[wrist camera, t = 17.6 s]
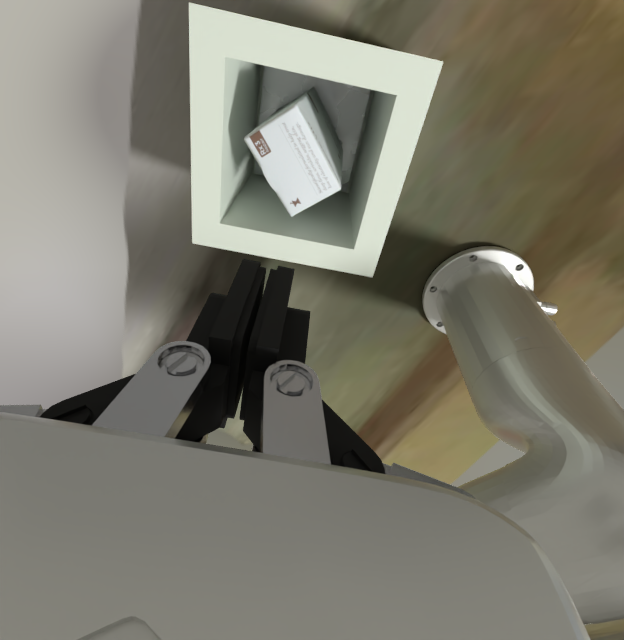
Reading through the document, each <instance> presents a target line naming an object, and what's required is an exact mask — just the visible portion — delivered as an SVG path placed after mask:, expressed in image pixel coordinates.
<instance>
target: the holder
mask: <svg viewBox="0 0 624 640" xmlns="http://www.w3.org/2000/svg"><path fill="white" fill-rule="evenodd" d="M189 58H190V129H191V199H192V243H193V244H199V245H204V246H209V247H214V248H220V249H225V250H230V251H236V252H241V253H246V254H251V255H257V256H262V257H267V258H273V259H278V260H283V261H288V262H294V263H299V264H304V265H309V266H315V267H320V268H325V269H331V270H336V271H341V272H346V273H352V274H357V275H362V276H368V277H373V275H374V272H375V269H376V266H377V263H378V260H379V257H380V253H381V250H382V247H383V244H384V241H385V238H386V235H387V232H388V229H389V226H390V223H391V220H392V217H393V214H394V211H395V208H396V205H397V202H398V199H399V196H400V193H401V190H402V186H403V183H404V180H405V177H406V174H407V171H408V168H409V165H410V162H411V159H412V156H413V153H414V150H415V147H416V144H417V141H418V138H419V135H420V132H421V129H422V126H423V123H424V119H425V116H426V113H427V110H428V107H429V104H430V101H431V98H432V95H433V92H434V89H435V86H436V83H437V80H438V77H439V74H440V71H441V68H442V65H443V61H438V60H434V59H430V58H425V57H421V56H417V55H413V54H408V53H404V52H400V51H395V50H391V49H387V48H383V47H378V46H374V45H370V44H365V43H361V42H357V41H353V40H348V39H344V38H340V37H335V36H331V35H327V34H323V33H318V32H314V31H310V30H305V29H301V28H297V27H293V26H288V25H284V24H280V23H275V22H271V21H267V20H263V19H258V18H254V17H250V16H245V15H241V14H237V13H233V12H228V11H224V10H220V9H215V8H211V7H207V6H203V5H198V4H194V3H190V2H189ZM264 66H269V67H273V68H278V69H282V70H286V71H291V72H295V73H300V74H304V75H309V76H313V77H318V78H322V79H326V80H331V81H335V82H340V83H344V84H349V85H353V86H358V87H362V88H367V89H371V91H370V95H369V99H368V104H367V108H366V112H365V116H364V120H363V124H362V129H361V133H360V137H359V141H358V145H357V149H356V154H355V158H354V162H353V166H352V170H351V175H350V179H349V183H348V187H347V191H341V190H339V191H338V192H336V193H334V194H332V195H330V196H328V197H327V198H325V199H323V200H321V201H319V202H317V203H316V204H314V205H312V206H310V207H308V208H307V209H305V210H303V211H301V212H299V213H297V214H296V215H294V216H293V217H291V216H290V215H289V213H288V212H287V210H286V208H285V207H284V205H283V204H282V202H281V200H280V199H279V197H278V195H277V194H276V192H275V191H274V190H273V189H272V187H271V186H270V185H269V183H268V181H267V180H266V178H265V176H264V175H263V174H258V173H255V164H256V159H255V157H254V156H253V154H252V152H251V151H250V149H249V147H248V146H247V144H246V142H245V140H244V138H245V136H246V135H248V134H249V133H251V132H252V131H253V130H254V129H255V128H256V127H258V126H259V118H260V107H261V95H262V83H263V72H264Z"/></svg>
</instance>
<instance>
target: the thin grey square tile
mask: <svg viewBox="0 0 624 640" xmlns="http://www.w3.org/2000/svg"><path fill="white" fill-rule="evenodd" d="M312 87H314V89H315V90H316V92H317V94H318V96H319V98H320V100H321V102H322V104H323V106H324V108H325V110H326V112H327V114H328V116H329V118H330V120H331V122H332V124H333V126H334V129H335V131H336V133H337V136H338V138H339V141H340V143H341V146H342V149H343V162H342V180H341V191H347V187H348V183H349V179H350V175H351V170H352V166H353V162H354V158H355V154H356V149H357V145H358V141H359V137H360V133H361V129H362V124H363V120H364V116H365V112H366V108H367V104H368V99H369V95H370V91H371V89H367V88H362V87H358V86H353V85H349V84H344V83H340V82H335V81H331V80H326V79H322V78H318V77H313V76H309V75H304V74H300V73H295V72H291V71H286V70H282V69H278V68H273V67H269V66H264V72H263V83H262V95H261V107H260V118H259V125H260V124H261V123H262V122H264V121H265V120H266V119H267V118H268V117H270V116H271V115H272V114H273V113H274V112H275V111H277V110H278V109H280V108H282V107H283V106H285V105H286V104H288V103H290V102H291V101H293V100H294V99H296V98H297V97H299V96H301V95H302V94H303V93H305V92H306V91H308V90H309V89H311V88H312ZM255 173H258V174H263V171H262V169H261V167H260V165H259V164H258V162H257V160H256V164H255ZM263 175H264V174H263Z"/></svg>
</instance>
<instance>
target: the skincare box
mask: <svg viewBox="0 0 624 640" xmlns="http://www.w3.org/2000/svg"><path fill="white" fill-rule="evenodd" d="M244 140H245V142H246V144H247V146H248V147H249V149H250V151H251V152H252V154H253V156H254V157H255V159H256V160H257V162H258V164H259V165H260V167H261V169H262V171H263V174H264V176H265V178H266V180H267V181H268V183H269V185H270V186H271V187H272V189H273V190H274V191H275V192H276V194H277V195H278V197H279V199H280V200H281V202H282V204H283V205H284V207H285V208H286V210H287V212H288V213H289V215H290V216H291V217H293V216H294V215H296V214H297V213H299V212H301V211H303V210H305V209H307V208H308V207H310V206H312V205H314V204H316V203H317V202H319V201H321V200H323V199H325V198H327V197H328V196H330V195H332V194H334V193H336V192H338V191H339V190H341V180H342V162H343V149H342V146H341V143H340V141H339V138H338V136H337V133H336V131H335V129H334V126H333V124H332V122H331V120H330V118H329V116H328V114H327V112H326V110H325V108H324V106H323V104H322V102H321V100H320V98H319V96H318V94H317V92H316V90H315V89H314V87H312V88H311V89H309V90H308V91H306V92H305V93H303V94H302V95H301V96H299V97H297V98H296V99H294V100H293V101H291V102H290V103H288V104H286V105H285V106H283V107H282V108H280V109H278V110H277V111H275V112H274V113H273V114H272V115H271V116H270V117H268V118H267V119H266V120H265V121H264V122H262V123H261V124H260V125H259V126H258V127H256V128H255V129H254V130H253V131H252V132H251V133H249V134H248V135H246V136H245V138H244Z"/></svg>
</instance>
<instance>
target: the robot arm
mask: <svg viewBox="0 0 624 640" xmlns="http://www.w3.org/2000/svg"><path fill="white" fill-rule="evenodd" d="M265 274H266V268H264V267H260V262H256V261H251V260H246V259H243V261H242V263H241V265H240V268H239V270H238V272H237V274H236V277H235V279H234V281H233V283H232V286H231V288H230V290H229V292H228V295H227V296H226V295H221V294H216V293H211V294H210V296H209V298H208V300H207V301H206V303H205V305H204V307H203V309H202V311H201V313H200V315H199V317H198V319H197V321H196V323H195V325H194V327H193V329H192V331H191V333H190V334H189V336H188V338H187V340H186V341H177V342H172V343H168V344H166V345H164V346H162V347H160V348H159V349H158V350H157V351H156V352H154V354H153V355H152V356H151V357H150V358H149V359H148V361H147V362H146V363H145V364H144V365H143V366H142V368H141V369H140V370H139V371H138V372H137V373H136V374H134V375H131V376H128V377H126V378H123V379H120V380H118V381H115V382H112V383H110V384H107V385H104V386H102V387H99V388H96V389H93V390H90V391H88V392H85V393H82V394H80V395H77V396H74V397H71V398H69V399H66V400H64V401H61V402H59V403H57V404H55V405H53V406H51V407H50V408H49V409H42V407H41V405H5V406H4V405H3V406H0V640H624V409H623V408H622V407H621V406H620V405H619V404H618V403H617V401H616V400H615V399H614V398H613V397H612V396H611V395H610V393H609V392H608V391H607V390H606V389H605V387H604V386H603V385H602V384H601V383H600V381H599V380H598V379H597V378H596V377H595V375H594V374H593V373H592V371H591V370H590V369H589V368H588V366H587V365H586V364H585V362H584V361H583V360H582V359H581V358H580V356H579V355H578V354H577V353H576V351H575V350H574V349H573V347H572V346H571V345H570V344H569V342H568V341H567V340H566V338H565V337H564V336H563V335H562V333H561V332H560V331H559V330H558V328H557V327H556V323H555V321H553V320H551V319H550V318H549V317H548V315H554V314H555V313H556V311H557V305H556V304H554V303H548V302H541V301H540V300H539V299H538V298H537V296H536V295H535V294H534V293H533V289H534V278H533V275H532V271H531V269H530V268H529V266H528V265H527V263H526V262H525V261H524V260H523V259H522V258H521V257H520V256H519V255H517V254H516V253H515V252H513V251H510V250H508V249H505V248H501V247H496V246H482V247H475V248H471V249H468V250H465V251H462V252H459V253H457V254H455V255H453V256H451V257H450V258H448V259H447V260H446V261H444V262H443V263H442V264H440V265H439V266H438V267H437V268H436V269H435V270H434V272H433V273H432V274H431V276H430V277H429V278H428V280H427V282H426V284H425V287H424V291H423V294H422V304H423V309H424V312H425V315H426V317H427V319H428V320H429V322H430V323H431V324H432V325H433V326H434V327H435V328H436V329H437V330H439V331H441V332H442V333H445V334H447V336H448V339H449V341H450V344H451V347H452V349H453V352H454V355H455V357H456V360H457V362H458V365H459V368H460V370H461V373H462V376H463V378H464V381H465V383H466V386H467V389H468V391H469V394H470V396H471V399H472V402H473V404H474V406H475V409H476V412H477V414H478V416H479V418H480V420H481V421H482V423H483V424H484V425H485V427H486V428H487V429H488V430H489V431H490V432H491V433H492V434H493V435H495V436H496V437H497V438H499V439H500V440H502V441H503V442H505V443H506V444H508V445H510V446H512V447H514V448H516V449H518V450H520V451H522V452H524V453H526V454H525V455H524V456H523V457H521V458H519V459H517V460H515V461H513V462H512V463H509V464H507V465H506V466H505V467H502V468H500V469H498V470H495V471H493V472H491V473H488V474H486V475H484V476H482V477H479V478H477V479H475V480H472V481H470V482H468V483H465V484H463V485H461V486H459V487H455V486H452V485H450V484H447V483H444V482H442V481H439V480H437V479H434V478H431V477H429V476H426V475H424V474H421V473H418V472H416V471H413V470H411V469H408V468H406V467H403V466H400V465H398V464H395V463H393V464H392V466H389V465H386V464H384V463H382V461H381V459H380V458H379V457H378V456H377V454H376V453H375V452H374V451H373V450H372V449H371V448H370V447H369V446H368V445H367V444H366V443H365V442H364V441H363V440H362V439H361V438H360V437H359V436H358V435H357V434H356V433H355V432H354V431H353V430H352V429H351V428H350V427H349V426H348V425H347V424H346V423H345V422H344V421H343V420H342V419H341V418H340V417H339V416H338V415H337V414H336V413H335V412H334V411H333V410H332V409H331V408H330V407H329V406H328V405H327V404H326V403H325V402H324V401H323V400H322V398H321V391H320V384H319V379H318V377H317V374H316V373H315V372H314V371H313V369H311V368H310V367H309V366H307V365H306V364H305V358H306V348H307V338H308V329H309V319H310V311H305V310H300V309H294V308H289V307H287V306H288V301H289V296H290V290H291V285H292V280H293V274H294V269H291V268H286V267H281V266H278V268H277V270H274V269H271V270H270V274H269V277H268V280H267V284H266V287H265V290H264V294H263V289H264V281H265ZM432 286H433V287H432ZM262 296H263V297H262ZM242 389H243V394H242V402H241V411H240V420H244V427H243V431H244V433H245V434H246V435H247V437H248V438H249V439H250V440H251V442H252V443H253V448H252V451H247V450H241V449H235V448H228V447H222V446H216V445H210V444H206V441H207V438H208V433H210V432H212V431H214V430H216V429H218V428H225V425H226V421H227V418H234V417H235V414H236V410H237V407H238V403H239V400H240V396H241V392H242ZM590 623H591V624H590ZM584 624H586V625H584Z"/></svg>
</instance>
